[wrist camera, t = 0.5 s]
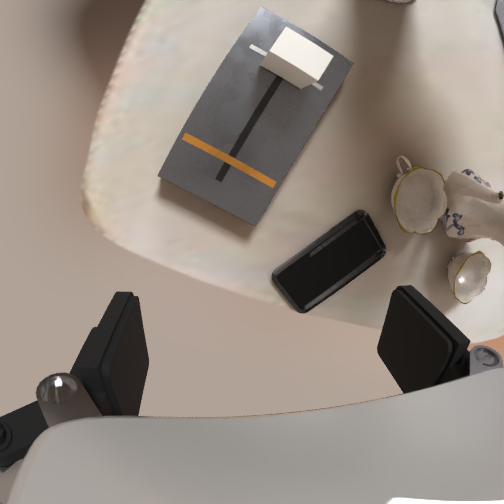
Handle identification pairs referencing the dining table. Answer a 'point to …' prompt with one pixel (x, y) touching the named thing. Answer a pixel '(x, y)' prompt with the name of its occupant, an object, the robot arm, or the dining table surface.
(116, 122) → the dining table surface
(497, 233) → the chinaware
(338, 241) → the phone
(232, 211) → the fader console
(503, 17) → the bottle
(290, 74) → the fader tab
